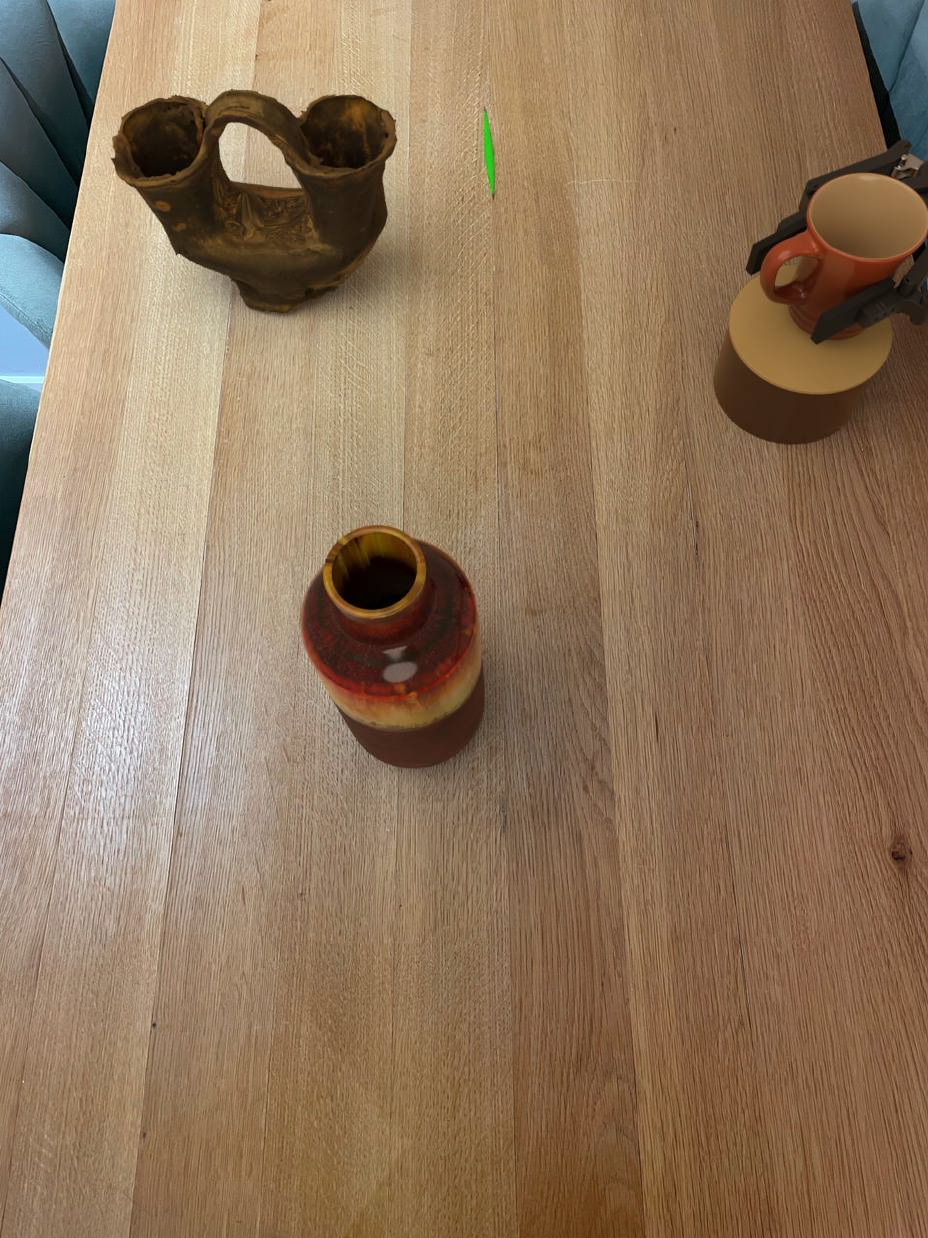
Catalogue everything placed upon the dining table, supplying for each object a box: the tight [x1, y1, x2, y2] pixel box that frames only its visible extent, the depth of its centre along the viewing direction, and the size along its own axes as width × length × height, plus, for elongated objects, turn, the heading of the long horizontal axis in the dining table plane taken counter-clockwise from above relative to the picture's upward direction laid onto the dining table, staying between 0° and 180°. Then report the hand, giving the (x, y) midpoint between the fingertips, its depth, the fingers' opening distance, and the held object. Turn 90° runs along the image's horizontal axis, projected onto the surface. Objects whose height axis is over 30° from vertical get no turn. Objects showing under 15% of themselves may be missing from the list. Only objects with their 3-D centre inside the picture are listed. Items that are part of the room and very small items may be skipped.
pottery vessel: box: [110, 88, 398, 315], centre depth 85 cm, size 25×11×20 cm, turn 87°
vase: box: [299, 524, 486, 770], centre depth 64 cm, size 11×11×26 cm
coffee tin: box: [713, 264, 893, 445], centre depth 83 cm, size 13×13×8 cm
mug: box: [759, 173, 928, 340], centre depth 74 cm, size 12×9×10 cm
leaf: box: [483, 105, 495, 199], centre depth 100 cm, size 1×14×1 cm, turn 3°
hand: (784, 294), depth 72 cm, fingers closed on mug, 7 cm apart
